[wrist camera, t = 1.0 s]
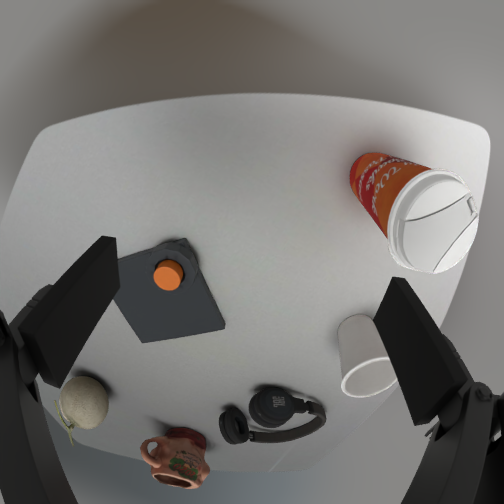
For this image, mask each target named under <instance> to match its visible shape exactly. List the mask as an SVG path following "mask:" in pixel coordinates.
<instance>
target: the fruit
mask: <svg viewBox="0 0 504 504" xmlns="http://www.w3.org/2000/svg"><path fill="white" fill-rule="evenodd" d="M54 402H55V406H56V409H57V412H58V414H59V417H60V418H61V420H62V422H63V424H64V425H65V427H66V428H67V430H68V434H69V437H70V440H71V442H72V445H73V446H74V444H73V440H72V437H71V432H72V431H73V428H74V426H76V427H79V428H83V429H91V428H95V427H97V426H98V425H100V424H101V423H102V421H103V420H104V419H105V417H106V415H107V412H108V407H109V401H108V396H107V393H106V391H105V389H104V388H103V386H102V385H101V384H100V383H99V382H98V381H96V380H95V379H93V378H91V377H86V376H78V377H75V378H72V379H71V380H69V381H68V382H67V383H66V384H65V386H64V387H63V389H62V391H61V394H60V398H59V403H60V409H61V412H62V414H63V416H64V417H65V419H66V420H68V421H69V422H70V423H71V425H70V426H69V427H68V426H67V425H66V423H65V422H64V420H63V419H62V417H61V415H60V413H59V411H58V408H57V404H56V401H55V400H54Z"/></svg>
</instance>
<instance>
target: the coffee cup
mask: <svg viewBox="0 0 504 504" xmlns="http://www.w3.org/2000/svg"><path fill="white" fill-rule="evenodd" d="M350 185H351V188H352V190H353V192H354V194H355V195H356V197H357V198H358V199H359V201H360V202H361V203H362V205H363V206H364V207H365V209H366V210H367V211H368V213H369V214H370V216H371V217H372V218H373V220H374V221H375V222H376V224H377V225H378V226H379V228H380V229H381V231H382V232H383V233H384V235H385V236H386V238H387V239H388V245H389V251H390V253H391V255H392V257H393V258H394V260H395V261H396V262H397V263H398V264H399V265H400V266H402V267H405V268H409V269H411V270H416V271H422V272H425V273H430V274H436V273H440V272H443V271H446V270H448V269H449V268H451V267H453V266H454V265H455V264H457V263H458V262H459V261H460V260H461V259H462V258H463V257H464V255H465V254H466V253H467V251H468V250H469V248H470V247H471V245H472V243H473V240H474V238H475V235H476V232H477V227H478V214H477V213H476V206H475V203H474V200H473V197H472V195H471V192H470V190H469V188H468V186H467V185H466V183H465V182H464V180H463V179H462V178H461V177H460V176H458V175H457V174H455V173H454V172H452V171H449V170H446V169H431V168H428V167H425V166H422V165H419V164H416V163H413V162H410V161H407V160H403V159H400V158H397V157H393V156H389V155H385V154H381V153H367V154H365V155H363V156H361V157H360V158H358V159H357V160H356V161H355V163H354V164H353V166H352V168H351V171H350Z"/></svg>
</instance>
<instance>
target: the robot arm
mask: <svg viewBox="0 0 504 504" xmlns="http://www.w3.org/2000/svg"><path fill="white" fill-rule="evenodd" d="M119 289H120V278H119V268H118V258H117V245H116V238H115V237H108V236H101V237H100V238H99V239H98V240H97V241H96V242H95V243H94V244H93V245H92V246H91V247H90V248H89V249H88V250H87V251H86V252H85V253H84V254H83V255H82V256H81V257H80V258H79V259H78V260H77V261H76V262H75V263H74V264H73V265H72V266H71V267H70V268H69V269H68V270H67V271H66V272H65V273H64V274H63V275H62V276H61V277H60V279H59V280H58V281H57V282H56V283H55V284H54V285H50V284H48V285H47V286H45V287H43V288H42V289H40V290H39V291H38V292H37V293H36V294H35V295H34V296H33V297H32V300H30V301H29V302H28V303H27V304H26V306H24V308H23V309H22V310H21V311H20V312H19V313H18V315H17V316H16V317H15V318H14V319H13V320H12V322H11V323H10V324H9V325H8V324H7V321H6V319H5V317H4V314H3V312H2V311H1V310H0V489H1V493H2V496H3V499H4V502H5V504H78V502H77V500H76V498H75V496H74V494H73V492H72V490H71V487H70V485H69V483H68V481H67V478H66V476H65V473H64V471H63V469H62V466H61V463H60V461H59V458H58V455H57V452H56V450H55V447H54V444H53V441H52V438H51V435H50V432H49V428H48V425H47V421H46V418H45V414H44V410H43V407H42V402H41V398H40V394H39V389H38V384H37V382H36V380H35V378H36V376H37V374H38V373H39V374H40V376H41V377H42V379H43V381H44V382H45V383H47V384H50V385H52V386H54V387H57V388H59V389H60V388H61V386H62V384H63V382H64V380H65V378H66V377H67V375H68V373H69V371H70V369H71V367H72V366H73V364H74V362H75V360H76V358H77V357H78V355H79V353H80V351H81V350H82V348H83V346H84V345H85V343H86V341H87V340H88V338H89V336H90V335H91V333H92V331H93V330H94V328H95V326H96V325H97V323H98V321H99V320H100V318H101V317H102V315H103V313H104V312H105V310H106V309H107V307H108V306H109V304H110V302H111V301H112V299H113V298H114V296H115V295H116V293H117V292H118V290H119ZM373 322H374V324H375V326H376V328H377V331H378V333H379V335H380V338H381V340H382V342H383V345H384V347H385V349H386V352H387V354H388V357H389V359H390V361H391V364H392V366H393V369H394V371H395V374H396V377H397V379H398V382H399V384H400V387H401V390H402V392H403V395H404V398H405V400H406V403H407V406H408V409H409V411H410V414H411V417H412V420H413V423H414V425H415V426H416V425H422V424H427V423H429V422H430V421H431V420H432V419H433V418H434V417H435V416H436V415H438V418H439V421H438V422H437V423H436V424H435V425H434V426H433V427H432V428H431V429H430V430H429V431H428V432H427V433H426V434H425V436H426V437H427V436H428V435H429V434H430V433H431V432H432V435H431V437H430V441H429V444H428V446H427V448H426V451H425V453H424V456H423V458H422V461H421V463H420V466H419V468H418V470H417V472H416V474H415V477H414V478H413V481H412V483H411V485H410V487H409V489H408V491H407V493H406V495H405V497H404V499H403V500H402V502H401V504H504V393H503V394H502V395H501V396H499V395H493V394H492V392H491V390H490V389H489V387H488V386H486V385H485V384H483V383H481V382H474V380H473V378H472V377H471V375H470V373H469V371H468V369H467V367H466V366H465V364H464V362H463V361H462V359H460V355H459V354H458V352H456V349H455V347H454V346H453V344H452V342H451V341H450V340H449V339H448V338H447V337H446V336H445V335H444V334H442V333H441V331H440V330H439V328H438V327H437V325H436V324H435V322H434V320H433V319H432V317H431V316H430V314H429V313H428V311H427V310H426V308H425V307H424V305H423V304H422V302H421V301H420V299H419V298H418V296H417V295H416V293H415V292H414V291H413V289H412V288H411V286H410V285H409V283H408V282H407V281H406V279H405V278H399V277H392V279H391V281H390V284H389V286H388V288H387V291H386V293H385V295H384V298H383V300H382V302H381V304H380V306H379V309H378V311H377V313H376V315H375V317H374V319H373ZM500 430H501V437H500V438H498V439H497V440H496V441H494V436H495V435H496V434H497V433H498V432H499V431H500Z"/></svg>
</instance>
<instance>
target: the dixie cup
mask: <svg viewBox="0 0 504 504" xmlns="http://www.w3.org/2000/svg"><path fill="white" fill-rule="evenodd" d="M337 333H338V342H339V352H340V362H341V373H342V383H341V388H342V391H343V392H344V393H345V394H347V395H349V396H352V397H368V396H372V395H375V394H378V393H380V392H382V391H384V390H386V389H388V388H389V387H390V386H392V385H393V384H394V383H395V382H396V381H397V377H396V374H395V371H394V369H393V366H392V364H391V361H390V359H389V357H388V354H387V352H386V349H385V347H384V345H383V342H382V340H381V338H380V335H379V333H378V331H377V328H376V326H375V324H374V323H373V321H372V320H371V318H370V317H368V316H366V315H355V316H352V317H349V318H347V319H346V320H345V321H343V322H342V323H341V325H340V326H339V328H338V332H337Z"/></svg>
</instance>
